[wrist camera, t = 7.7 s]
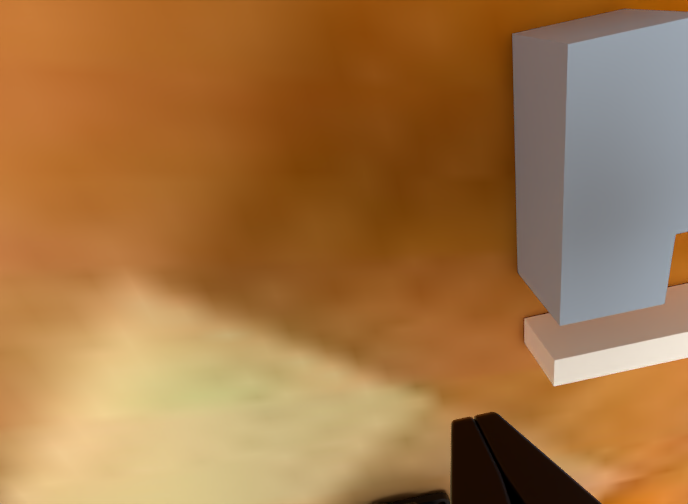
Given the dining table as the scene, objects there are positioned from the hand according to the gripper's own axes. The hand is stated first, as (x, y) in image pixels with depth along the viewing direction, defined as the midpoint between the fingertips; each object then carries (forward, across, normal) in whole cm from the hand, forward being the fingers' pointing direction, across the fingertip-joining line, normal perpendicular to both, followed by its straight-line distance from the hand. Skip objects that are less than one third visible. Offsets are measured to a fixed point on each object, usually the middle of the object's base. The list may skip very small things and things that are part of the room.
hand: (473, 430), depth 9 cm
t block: (+12, -11, 0) cm, 16 cm away
